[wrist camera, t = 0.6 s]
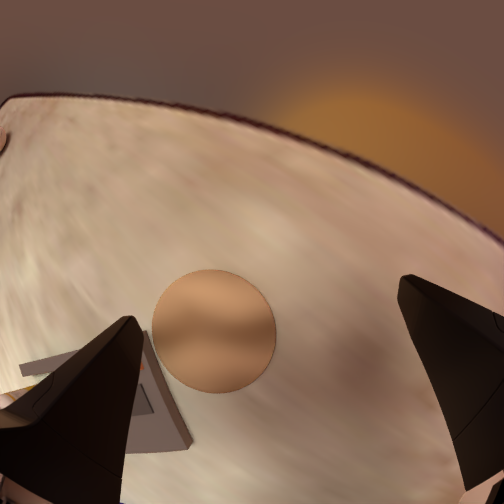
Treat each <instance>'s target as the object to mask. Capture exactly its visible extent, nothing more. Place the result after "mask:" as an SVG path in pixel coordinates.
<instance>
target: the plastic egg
mask: <svg viewBox="0 0 504 504" xmlns="http://www.w3.org/2000/svg"><path fill="white" fill-rule="evenodd" d="M5 142H6V132H5V130H4V129H3V128H2V127H1V126H0V151H1V150H2V149H3V147H4V145H5Z"/></svg>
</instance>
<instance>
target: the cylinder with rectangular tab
mask: <svg viewBox="0 0 504 504" xmlns="http://www.w3.org/2000/svg"><path fill="white" fill-rule="evenodd" d="M503 477H504V473H503V470H502V471H500V472H499V473H497V474H496V475H494V476H493V477H491V478H490V479H488V480H486V481H485V482H483V483H481V484H480V485H478V486H476V487H474V488H473V489H471V490H469V491H467V492H465V493H464V494H463V496H462V497H461V499H460V501H459V504H485V503H486V500H487V498H488V496H489V494H490V491H491V489H492V487H493V485H494V484H495V483H497V482H498V481H499V480H501V479H502V478H503Z"/></svg>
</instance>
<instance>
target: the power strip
mask: <svg viewBox="0 0 504 504" xmlns="http://www.w3.org/2000/svg"><path fill="white" fill-rule="evenodd" d="M142 332H143V334H144V344H143V352H142V360H141V369H140V376H139V381H138V386H137V390H136V395H135V400H134V405H133V410H132V416H131V421H130V427H129V433H128V439H127V445H126V452H125V454H131V453H157V452H170V451H181V450H188V449H189V447H190V445H191V444H192V442H193V440H192V438H191V436H190V434H189V432H188V430H187V428H186V426H185V424H184V422H183V420H182V418H181V415H180V413H179V411H178V409H177V407H176V405H175V403H174V400H173V398H172V396H171V393H170V391H169V389H168V386H167V384H166V382H165V379H164V377H163V374H162V372H161V369H160V367H159V364H158V362H157V359H156V357H155V354H154V351H153V348H152V346H151V343H150V340H149V337H148V334H147V332H146V331H142ZM79 350H80V349H79ZM79 350H76V351H72V352H68V353H65V354H61V355H57V356H53V357H49V358H45V359H41V360H37V361H33V362H29V363H25V364H21V365H19V367H20V370H21V373H22V376H23V377H24V376H30V375H36V374H41V373H47V372H52V371H55V370H56V369H57V368H58V367H59V366H61V365H62V364H63V363H64V362H66V361H67V360H68V359H69V358H70V357H72V356H73V355H74V354H75V353H77V352H78V351H79Z"/></svg>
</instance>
